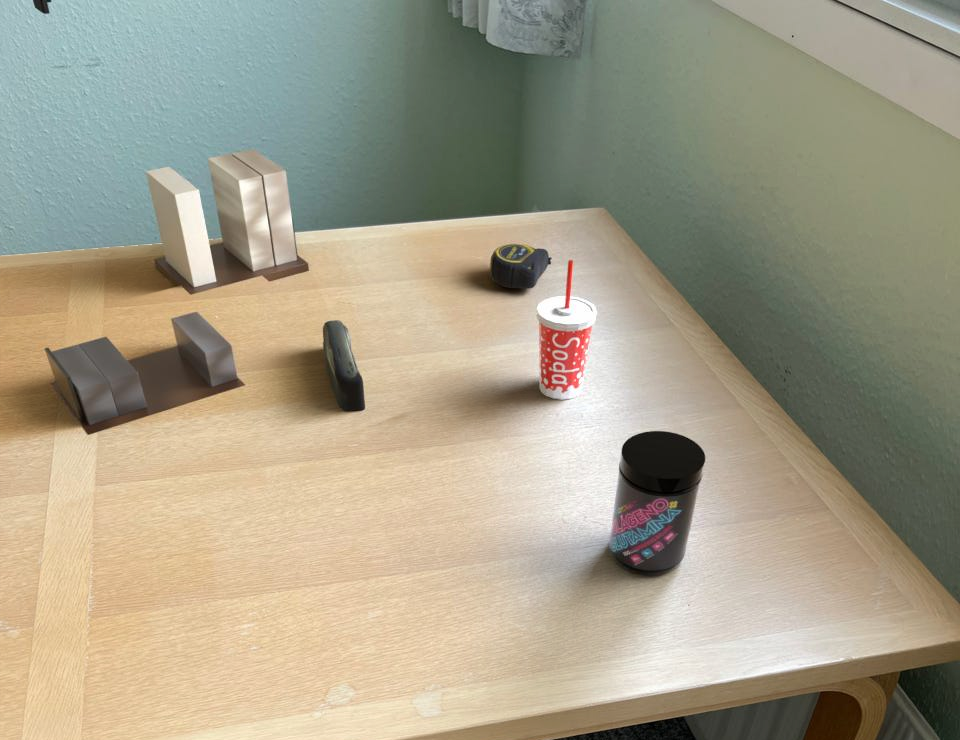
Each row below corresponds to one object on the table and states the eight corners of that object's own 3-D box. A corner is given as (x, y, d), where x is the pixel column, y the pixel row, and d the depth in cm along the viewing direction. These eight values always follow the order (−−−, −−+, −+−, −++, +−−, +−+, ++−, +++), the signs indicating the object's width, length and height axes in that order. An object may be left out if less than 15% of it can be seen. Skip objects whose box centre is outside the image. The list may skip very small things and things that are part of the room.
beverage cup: (523, 395, 102) (529, 267, 92) (545, 369, 106) (553, 243, 96) (577, 408, 100) (589, 279, 90) (596, 381, 104) (610, 254, 94)
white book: (193, 287, 117) (174, 195, 109) (165, 261, 122) (145, 171, 114) (216, 281, 118) (199, 189, 110) (187, 255, 123) (169, 166, 116)
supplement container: (594, 539, 85) (606, 440, 78) (660, 522, 87) (678, 424, 80) (629, 586, 81) (646, 486, 73) (698, 567, 83) (722, 468, 75)
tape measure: (533, 298, 118) (535, 268, 116) (481, 288, 120) (482, 259, 117) (550, 275, 123) (552, 246, 120) (500, 266, 124) (501, 238, 122)
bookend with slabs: (192, 302, 117) (170, 201, 108) (155, 266, 123) (132, 169, 115) (309, 270, 123) (297, 172, 115) (267, 238, 130) (253, 144, 121)
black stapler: (367, 376, 95) (340, 305, 105) (337, 380, 95) (313, 309, 105) (370, 419, 99) (344, 346, 109) (341, 423, 98) (317, 350, 108)
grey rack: (90, 443, 95) (73, 389, 91) (52, 390, 102) (34, 338, 98) (247, 393, 102) (237, 341, 98) (202, 347, 109) (191, 296, 105)
